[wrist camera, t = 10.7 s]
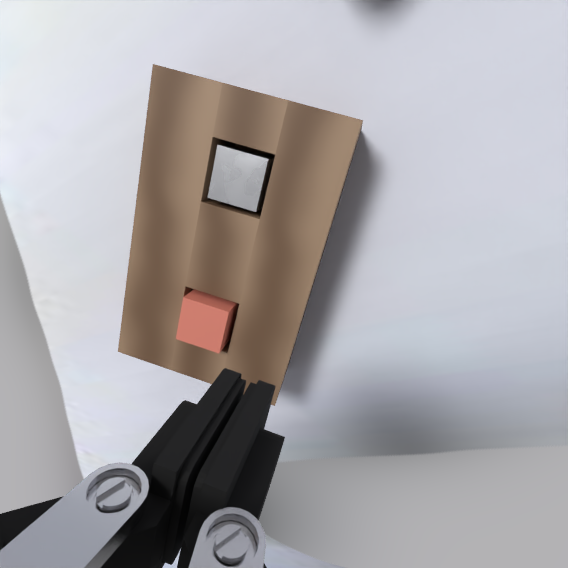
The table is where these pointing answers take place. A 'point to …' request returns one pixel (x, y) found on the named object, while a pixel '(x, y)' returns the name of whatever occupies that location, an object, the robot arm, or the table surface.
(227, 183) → the grey plug
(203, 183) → the block
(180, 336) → the red plug
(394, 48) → the table surface
